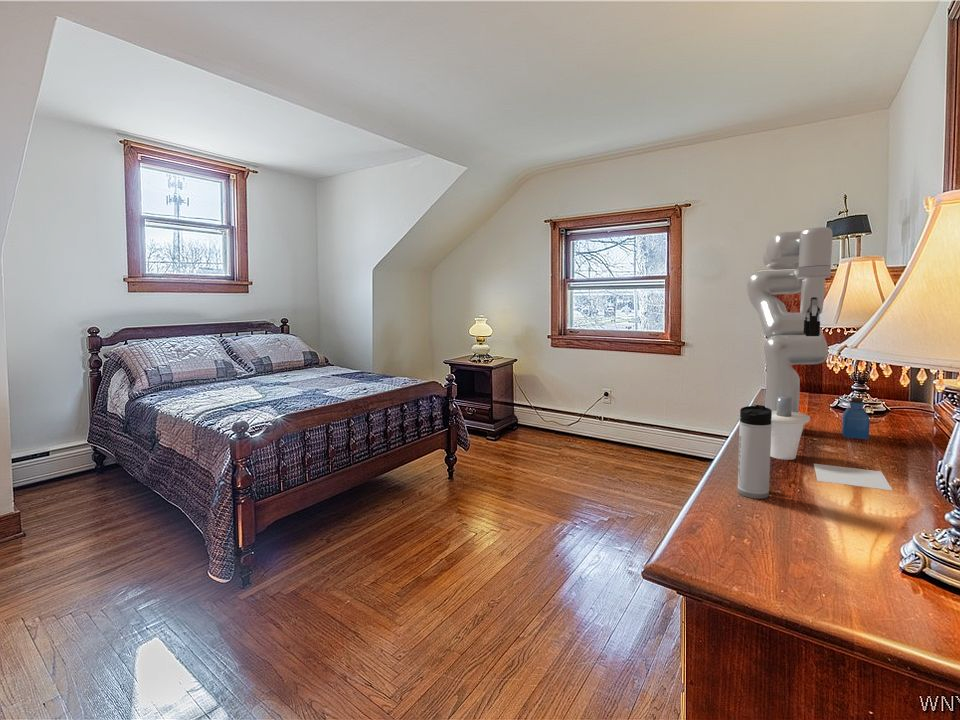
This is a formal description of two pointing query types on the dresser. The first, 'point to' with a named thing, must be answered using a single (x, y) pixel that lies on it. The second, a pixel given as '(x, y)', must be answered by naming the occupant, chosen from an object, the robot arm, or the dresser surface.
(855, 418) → the perfume bottle
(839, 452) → the dresser surface
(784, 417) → the lid
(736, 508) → the dresser surface
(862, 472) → the mat
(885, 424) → the dresser surface
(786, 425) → the cup
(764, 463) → the travel mug
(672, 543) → the dresser surface
